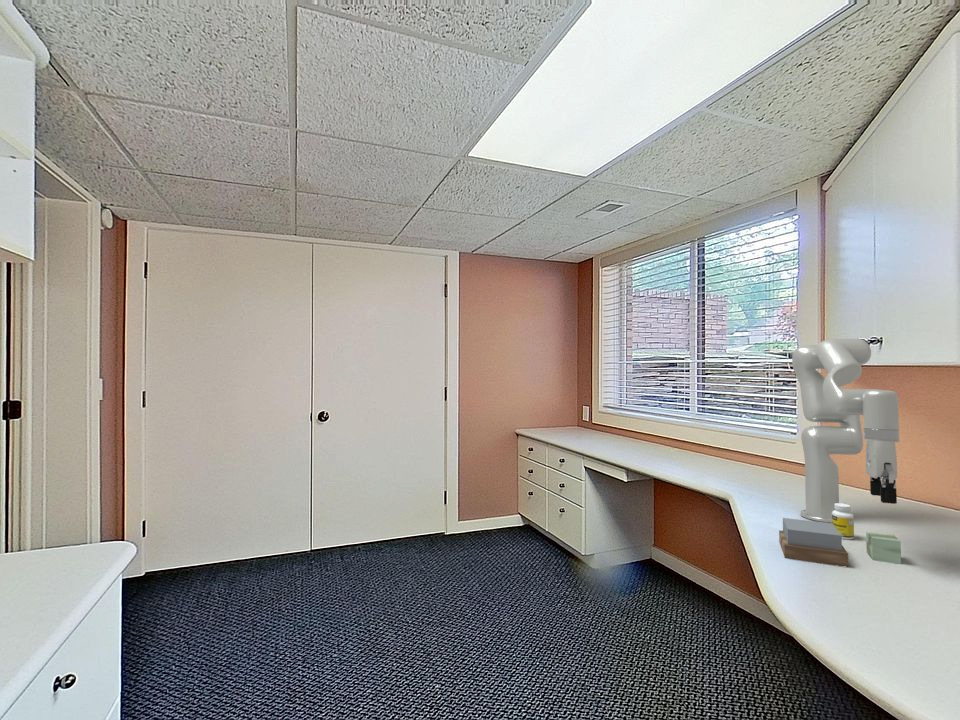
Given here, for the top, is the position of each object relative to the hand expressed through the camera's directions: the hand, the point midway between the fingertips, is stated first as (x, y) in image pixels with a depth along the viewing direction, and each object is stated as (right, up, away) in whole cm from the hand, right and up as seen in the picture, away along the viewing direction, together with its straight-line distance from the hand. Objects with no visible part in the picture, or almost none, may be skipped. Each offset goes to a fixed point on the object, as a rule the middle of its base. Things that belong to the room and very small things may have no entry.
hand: (883, 499), depth 133 cm
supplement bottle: (+2, -17, +17) cm, 24 cm away
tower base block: (-17, -17, +3) cm, 24 cm away
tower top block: (-17, -13, +3) cm, 22 cm away
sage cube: (0, -16, 0) cm, 16 cm away
